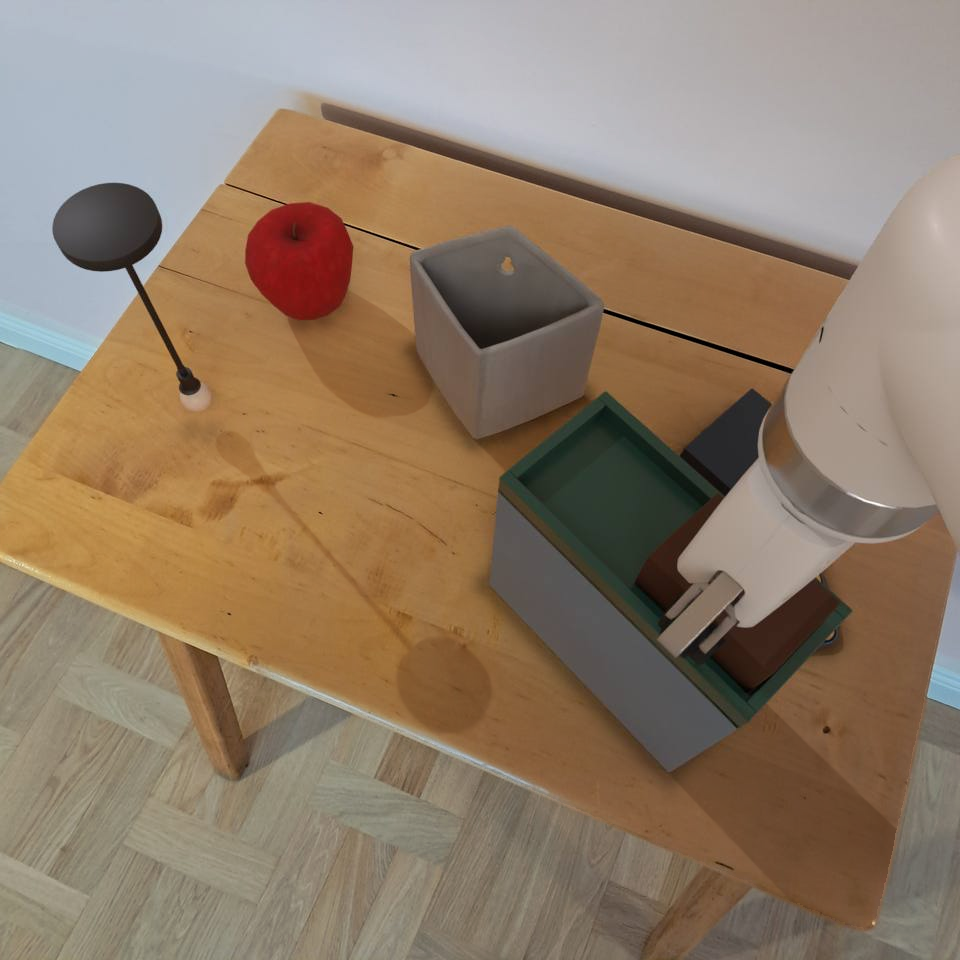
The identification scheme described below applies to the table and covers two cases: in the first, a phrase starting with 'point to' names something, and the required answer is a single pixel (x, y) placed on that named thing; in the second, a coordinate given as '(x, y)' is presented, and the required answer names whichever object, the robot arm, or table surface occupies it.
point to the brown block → (745, 649)
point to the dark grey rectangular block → (729, 443)
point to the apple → (300, 259)
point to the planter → (502, 328)
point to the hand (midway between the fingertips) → (738, 586)
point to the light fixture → (121, 253)
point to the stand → (600, 645)
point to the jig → (631, 529)
